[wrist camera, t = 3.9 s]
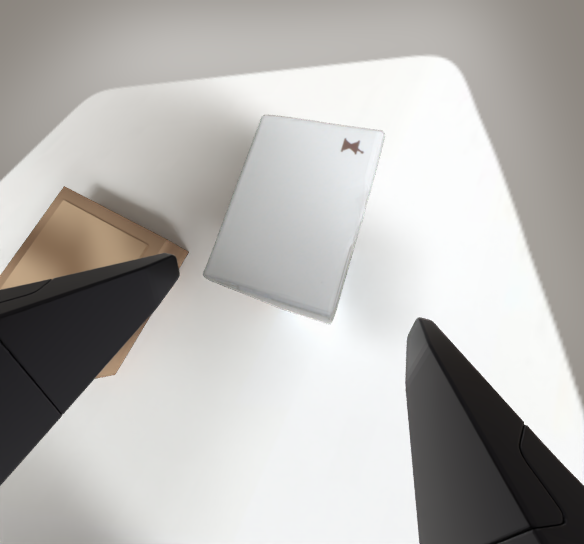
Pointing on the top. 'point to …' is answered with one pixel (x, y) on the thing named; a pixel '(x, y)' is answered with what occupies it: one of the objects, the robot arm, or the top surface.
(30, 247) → the walnut tray
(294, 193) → the skincare box
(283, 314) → the top surface
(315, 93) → the top surface
